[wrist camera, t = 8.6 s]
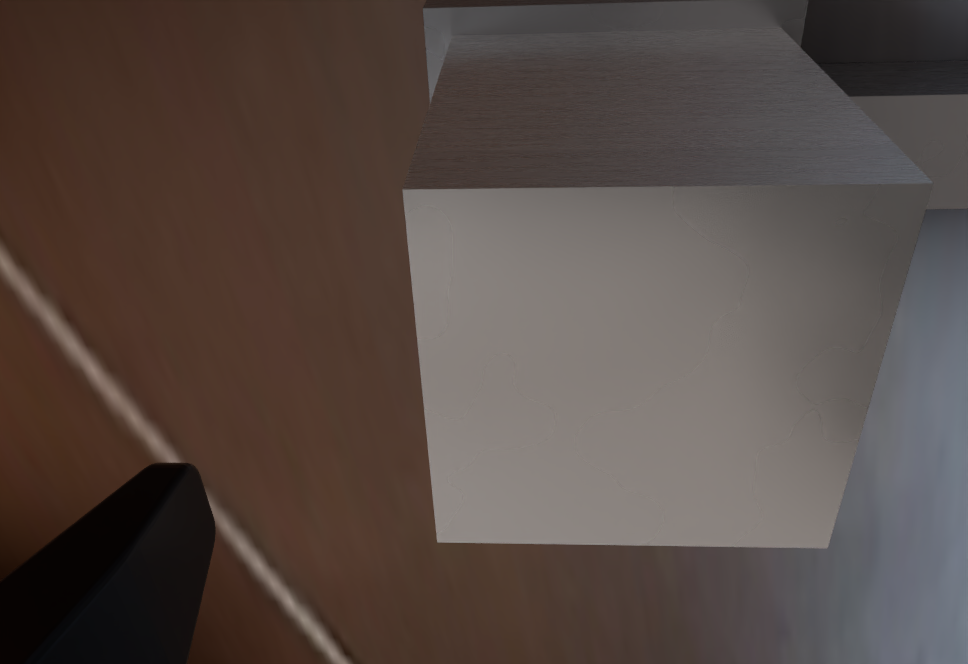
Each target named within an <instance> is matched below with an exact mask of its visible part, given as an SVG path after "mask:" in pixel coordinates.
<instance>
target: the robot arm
mask: <svg viewBox="0 0 968 664" xmlns="http://www.w3.org/2000/svg"><path fill="white" fill-rule="evenodd" d="M214 542H215V521H214V517H213V514H212V511H211V508H210V504H209V501H208V498H207V495H206V492H205V489H204V486H203V483H202V480H201V476H200V474H199V472H198V470H197V468H196V467H195V466H194V465H192V464H189V463H155V464H151V465H149V466H147V467H146V468H144V469H143V470H142V471H140V472H139V473H138V474H137V475H135V476H134V477H133V478H131V479H130V480H129V481H128V482H126V483H125V484H124V485H122V486H121V487H120V488H119V489H117V490H116V491H115V492H113V493H112V494H111V495H110V496H108V497H107V498H106V499H105V500H103V501H102V502H101V503H99V504H98V505H97V506H96V507H94V508H93V509H92V510H90V511H89V512H88V513H87V514H85V515H84V516H83V517H81V518H80V519H79V520H78V521H76V522H75V523H74V524H72V525H71V526H70V527H69V528H67V529H66V530H65V531H63V532H62V533H61V534H60V535H58V536H57V537H56V538H54V539H53V540H52V541H51V542H49V543H48V544H47V545H45V546H44V547H43V548H42V549H40V550H39V551H38V552H36V553H35V554H34V555H33V556H31V557H30V558H29V559H27V560H26V561H25V562H24V563H22V564H21V565H20V566H18V567H17V568H16V569H15V570H13V571H12V572H11V573H9V574H8V575H7V576H6V577H4V578H3V579H2V580H0V664H187V660H188V656H189V652H190V647H191V643H192V639H193V634H194V630H195V626H196V621H197V617H198V613H199V608H200V604H201V600H202V595H203V591H204V587H205V582H206V578H207V574H208V569H209V565H210V561H211V556H212V552H213V548H214Z"/></svg>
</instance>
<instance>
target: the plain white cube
mask: <svg viewBox="0 0 968 664" xmlns="http://www.w3.org/2000/svg"><path fill="white" fill-rule="evenodd" d="M933 184H934V183H933V182H932V181H931V180H930V179H929V178H928V177H927V176H926V175H925V174H924V173H923V172H922V171H921V170H920V169H919V168H918V167H917V166H916V165H915V164H914V163H913V162H912V161H911V160H910V159H909V158H908V157H907V156H906V155H905V154H904V153H903V152H902V151H901V150H900V148H899V147H898V146H897V145H896V144H895V143H894V142H893V141H892V140H891V139H890V138H889V137H888V136H887V135H886V134H885V133H884V132H883V131H882V130H881V129H880V128H879V127H878V126H877V125H876V124H875V123H874V122H873V121H872V120H871V119H870V118H869V117H868V116H867V115H866V114H865V113H864V112H863V111H862V110H861V109H860V108H859V107H858V106H857V105H856V104H855V103H854V102H853V101H852V100H851V98H850V97H849V96H848V95H847V94H846V93H845V92H844V91H843V90H842V89H841V88H840V87H839V86H838V85H837V84H836V83H835V82H834V81H833V80H832V79H831V78H830V77H829V76H828V75H827V74H826V73H825V72H824V71H823V70H822V69H821V68H820V67H819V66H818V65H817V64H816V63H815V62H814V61H813V60H812V59H811V58H810V57H809V56H808V55H807V54H806V53H805V52H804V51H803V49H802V48H801V47H800V46H799V45H798V44H797V43H796V42H795V41H794V40H793V39H792V38H791V37H790V36H789V35H788V34H787V33H786V32H785V31H784V30H783V29H782V28H781V27H773V28H731V29H689V30H646V31H604V32H562V33H519V34H477V35H452V37H451V40H450V43H449V46H448V49H447V53H446V56H445V59H444V62H443V65H442V68H441V71H440V74H439V78H438V81H437V84H436V87H435V90H434V93H433V96H432V99H431V102H430V106H429V109H428V112H427V115H426V118H425V121H424V124H423V127H422V131H421V134H420V137H419V140H418V143H417V146H416V149H415V152H414V155H413V159H412V162H411V165H410V168H409V171H408V174H407V177H406V180H405V184H404V187H403V199H404V209H405V219H406V230H407V240H408V250H409V260H410V270H411V280H412V290H413V301H414V311H415V321H416V331H417V341H418V351H419V362H420V372H421V382H422V392H423V402H424V412H425V422H426V433H427V443H428V453H429V463H430V473H431V483H432V493H433V504H434V514H435V524H436V534H437V542H451V543H517V544H582V545H648V546H713V547H778V548H828V545H829V542H830V538H831V535H832V531H833V528H834V524H835V521H836V518H837V514H838V511H839V507H840V504H841V500H842V497H843V493H844V490H845V487H846V483H847V480H848V476H849V473H850V469H851V466H852V463H853V459H854V456H855V452H856V449H857V445H858V442H859V438H860V435H861V432H862V428H863V425H864V421H865V418H866V414H867V411H868V407H869V404H870V401H871V397H872V394H873V390H874V387H875V383H876V380H877V376H878V373H879V370H880V366H881V363H882V359H883V356H884V352H885V349H886V346H887V342H888V339H889V335H890V332H891V328H892V325H893V321H894V318H895V315H896V311H897V308H898V304H899V301H900V297H901V294H902V290H903V287H904V284H905V280H906V277H907V273H908V270H909V266H910V263H911V259H912V256H913V253H914V249H915V246H916V242H917V239H918V235H919V232H920V228H921V225H922V222H923V218H924V215H925V211H926V208H927V204H928V201H929V198H930V194H931V191H932V187H933Z"/></svg>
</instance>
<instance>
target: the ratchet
mask: <svg viewBox="0 0 968 664" xmlns="http://www.w3.org/2000/svg"><path fill="white" fill-rule="evenodd" d="M808 1H809V0H427V1H426V3H425V5H424V7H423V16H424V30H425V43H426V56H427V70H428V83H429V96H430V102H431V99H432V96H433V93H434V90H435V87H436V84H437V81H438V78H439V74H440V71H441V68H442V65H443V62H444V59H445V56H446V53H447V49H448V46H449V43H450V40H451V37H452V35H477V34H519V33H562V32H604V31H646V30H689V29H731V28H773V27H781V28H782V29H783V30H784V31H785V32H786V33H787V34H788V35H789V36H790V37H791V38H792V39H793V40H794V41H795V42H796V43H797V44H798V45H799V46H800V47H801V41H802V36H803V30H804V24H805V18H806V13H807V7H808ZM817 65H818V66H819V67H820V68H821V69H822V70H823V71H824V72H825V73H826V74H827V75H828V76H829V77H830V78H831V79H832V80H833V81H834V82H835V83H836V84H837V85H838V86H839V87H840V88H841V89H842V90H843V91H844V92H845V93H846V94H847V95H848V96H849V97H850V98H851V100H852V101H853V102H854V103H855V104H856V105H857V106H858V107H859V108H860V109H861V110H862V111H863V112H864V113H865V114H866V115H867V116H868V117H869V118H870V119H871V120H872V121H873V122H874V123H875V124H876V125H877V126H878V127H879V128H880V129H881V130H882V131H883V132H884V133H885V134H886V135H887V136H888V137H889V138H890V139H891V140H892V141H893V142H894V143H895V144H896V145H897V146H898V147H899V148H900V150H901V151H902V152H903V153H904V154H905V155H906V156H907V157H908V158H909V159H910V160H911V161H912V162H913V163H914V164H915V165H916V166H917V167H918V168H919V169H920V170H921V171H922V172H923V173H924V174H925V175H926V176H927V177H928V178H929V179H930V180H931V181H932V182H933V183H934V184H933V187H932V191H931V194H930V198H929V201H928V204H927V208H926V209H968V60H964V61H919V62H875V63H830V64H817Z"/></svg>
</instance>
